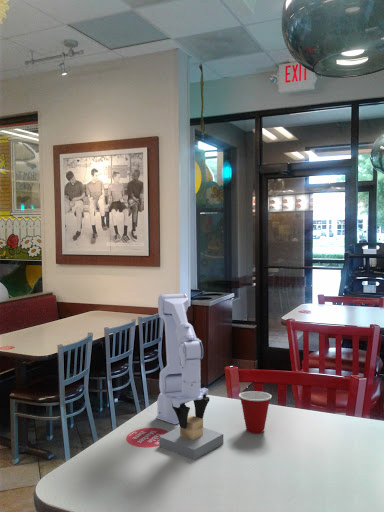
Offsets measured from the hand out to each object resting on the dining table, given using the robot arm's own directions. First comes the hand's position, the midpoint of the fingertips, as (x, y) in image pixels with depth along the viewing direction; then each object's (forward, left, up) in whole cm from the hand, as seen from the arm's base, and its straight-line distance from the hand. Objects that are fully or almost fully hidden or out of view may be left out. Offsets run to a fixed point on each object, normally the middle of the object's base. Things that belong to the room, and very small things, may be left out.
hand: (191, 423), depth 146 cm
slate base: (0, 0, -7) cm, 7 cm away
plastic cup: (+9, +22, -7) cm, 25 cm away
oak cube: (0, 0, -4) cm, 4 cm away
